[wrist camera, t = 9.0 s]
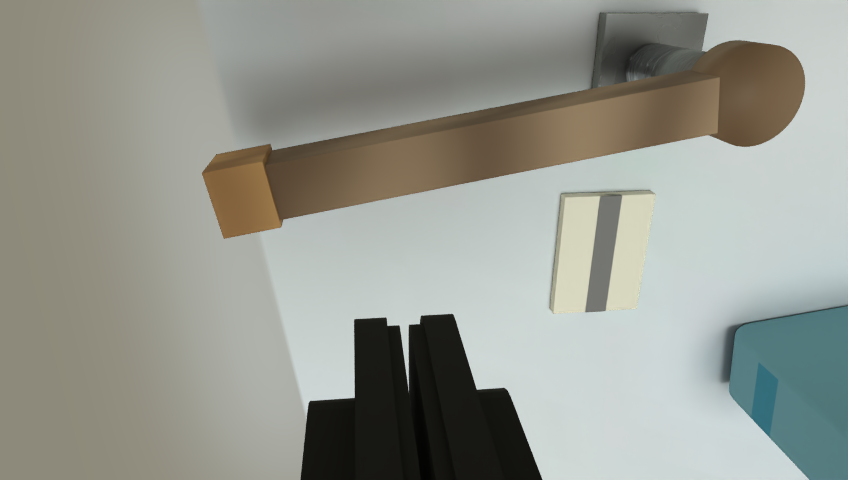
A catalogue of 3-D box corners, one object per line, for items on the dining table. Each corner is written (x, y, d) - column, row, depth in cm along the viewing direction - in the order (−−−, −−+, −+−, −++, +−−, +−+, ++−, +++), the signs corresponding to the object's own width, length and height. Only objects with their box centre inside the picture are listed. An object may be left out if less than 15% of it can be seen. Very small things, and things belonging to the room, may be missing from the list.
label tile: (561, 193, 31) (565, 197, 31) (650, 190, 32) (656, 194, 31) (550, 308, 34) (553, 314, 33) (632, 303, 35) (637, 309, 34)
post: (600, 12, 28) (673, 19, 22) (699, 12, 28) (797, 19, 22) (588, 118, 30) (652, 152, 24) (680, 116, 30) (766, 149, 24)
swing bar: (770, 31, 22) (816, 36, 20) (762, 124, 24) (805, 138, 22) (211, 138, 21) (196, 155, 19) (240, 228, 23) (229, 254, 21)
